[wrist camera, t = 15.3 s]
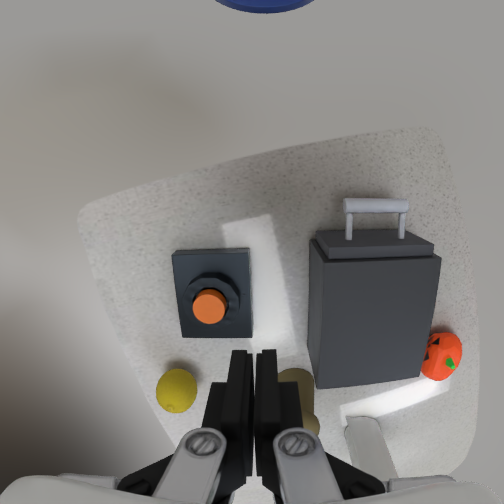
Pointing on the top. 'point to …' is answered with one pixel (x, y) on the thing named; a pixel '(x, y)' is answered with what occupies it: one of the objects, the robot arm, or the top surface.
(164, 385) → the lemon
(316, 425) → the pepper mill
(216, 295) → the button
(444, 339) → the pumpkin
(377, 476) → the paper towel roll
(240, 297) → the control block
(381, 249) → the basket drawer
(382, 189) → the top surface
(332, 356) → the dark grey drawer cabinet
